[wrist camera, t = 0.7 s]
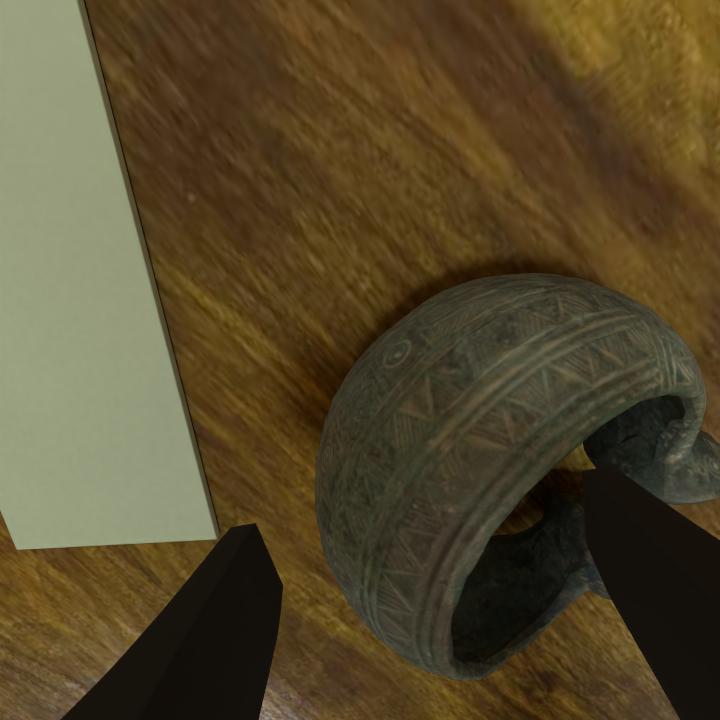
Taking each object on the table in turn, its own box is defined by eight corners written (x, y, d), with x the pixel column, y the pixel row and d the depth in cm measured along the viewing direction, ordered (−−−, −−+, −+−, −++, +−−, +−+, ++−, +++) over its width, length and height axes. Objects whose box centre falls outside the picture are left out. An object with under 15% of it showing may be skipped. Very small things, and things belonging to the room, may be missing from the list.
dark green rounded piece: (571, 597, 23) (691, 860, 14) (296, 507, 23) (225, 714, 13) (736, 332, 19) (1092, 453, 9) (394, 214, 18) (392, 210, 9)
